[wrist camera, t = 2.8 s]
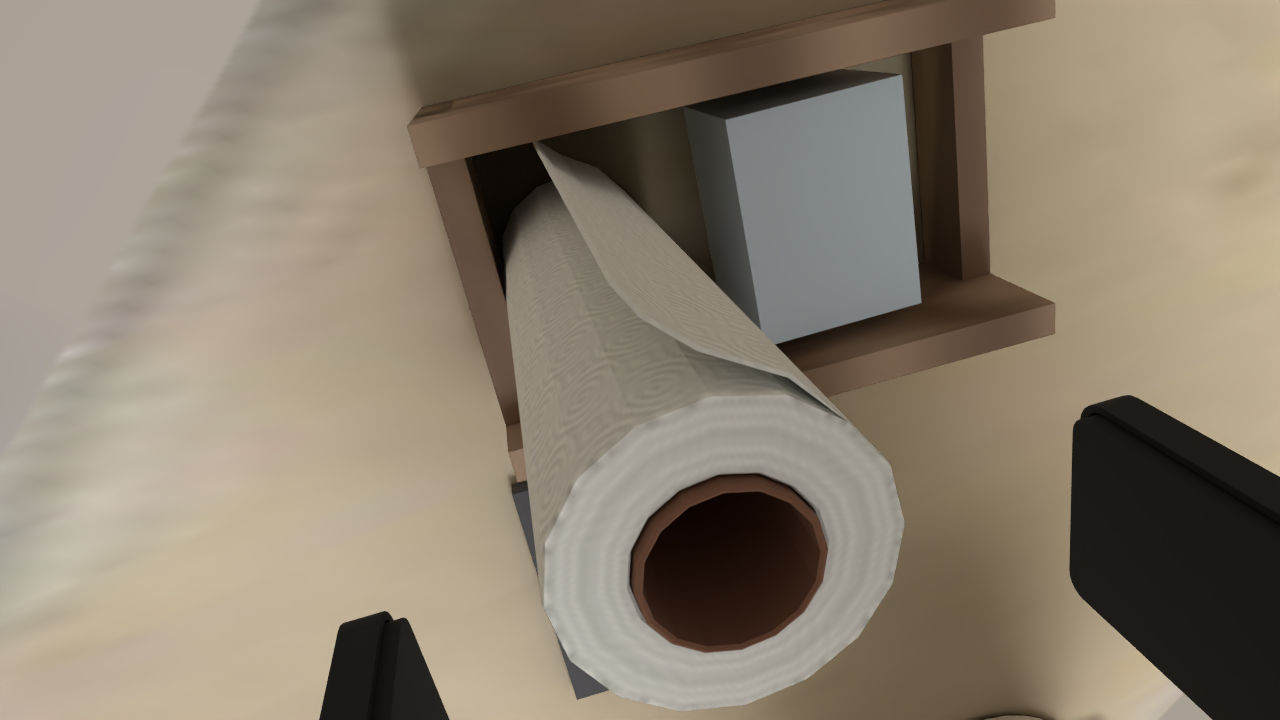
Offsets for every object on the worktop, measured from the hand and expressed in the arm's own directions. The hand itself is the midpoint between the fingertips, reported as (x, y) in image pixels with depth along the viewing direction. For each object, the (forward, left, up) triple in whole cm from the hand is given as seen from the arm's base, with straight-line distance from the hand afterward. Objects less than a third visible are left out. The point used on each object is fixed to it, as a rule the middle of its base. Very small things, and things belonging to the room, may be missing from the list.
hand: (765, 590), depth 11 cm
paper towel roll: (0, 0, -23) cm, 23 cm away
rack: (-6, 0, -23) cm, 24 cm away
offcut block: (-8, 0, -23) cm, 25 cm away
